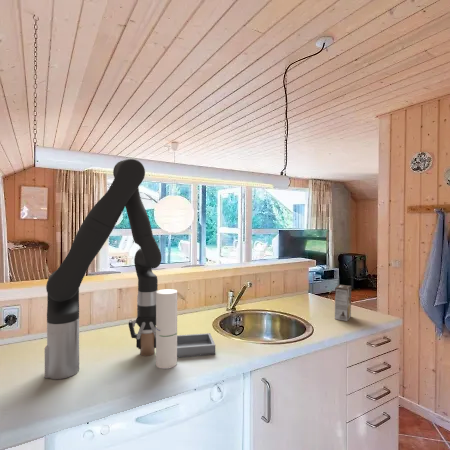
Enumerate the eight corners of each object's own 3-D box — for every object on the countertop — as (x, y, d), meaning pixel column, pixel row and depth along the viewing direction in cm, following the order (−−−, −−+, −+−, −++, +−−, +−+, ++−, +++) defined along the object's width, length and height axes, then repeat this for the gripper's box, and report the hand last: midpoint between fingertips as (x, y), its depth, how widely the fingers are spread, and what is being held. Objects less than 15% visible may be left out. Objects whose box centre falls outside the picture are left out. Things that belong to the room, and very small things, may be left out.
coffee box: (338, 314, 165) (338, 284, 164) (351, 316, 161) (351, 285, 161) (334, 319, 157) (334, 287, 156) (347, 321, 153) (348, 289, 153)
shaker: (139, 356, 113) (139, 331, 112) (140, 350, 118) (140, 326, 117) (154, 355, 114) (154, 330, 113) (154, 349, 119) (154, 326, 119)
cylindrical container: (167, 356, 112) (168, 288, 112) (181, 362, 108) (181, 291, 107) (151, 364, 107) (151, 291, 106) (165, 370, 102) (165, 295, 102)
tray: (174, 357, 112) (174, 348, 112) (172, 344, 124) (172, 335, 123) (215, 354, 115) (215, 345, 115) (210, 341, 127) (210, 333, 127)
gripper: (126, 306, 110) (126, 353, 110) (167, 304, 113) (167, 350, 113) (128, 300, 117) (128, 345, 118) (167, 298, 120) (167, 342, 121)
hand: (147, 347), depth 116 cm, fingers closed on shaker, 5 cm apart
